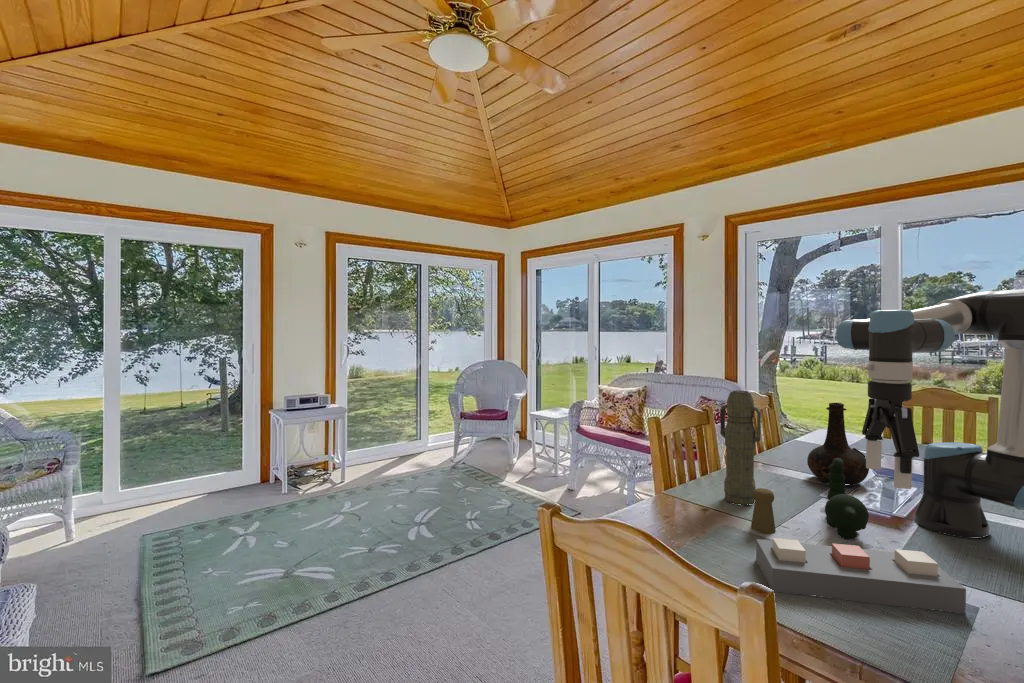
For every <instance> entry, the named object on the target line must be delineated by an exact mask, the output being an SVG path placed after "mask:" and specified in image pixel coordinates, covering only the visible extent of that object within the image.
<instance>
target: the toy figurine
mask: <svg viewBox="0 0 1024 683" xmlns="http://www.w3.org/2000/svg"><path fill="white" fill-rule="evenodd" d="M843 464H844V462H843V460H842V459H841V458H835V459H834V460H833V464H831V465H829V466H828V468H829V469H830V471H831V472H830V473H828V474H827V477H828V478H829V479H830V482H829V483H826V488H827V489H828V490H829V491H828V492H827V495H826V498H827V501H826V503H825V506H824V512H825V520H826V521H825V522H826V524H827V526H829V527H830V528H836V529H837V530H836V533H837V535H838V537H840V539H841V538H842V539H845V540H851V541H852V540H855V539H857V537H858V533H857V532H858V531H862V530H865V529H866V528H867V524H868V523H869V518H870V514H869V511H868V508H867V507H866V505H865V504H864V503H863V501H861V500H860V499H859V498H857V497H855V496H854V495H851V494H847V493H846V490H847V488H846V487H847V486H845V484H844V483H843V482H844V480H845V476H844V474H843V472H844V468H843Z"/></svg>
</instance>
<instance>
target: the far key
mask: <svg viewBox="0 0 1024 683" xmlns="http://www.w3.org/2000/svg"><path fill="white" fill-rule="evenodd" d="M772 541H773V542H772V552H773V553H774V555H775V557H776V558H777V560H781V561H791V562H800V563H806V551H805V549H804V548H803V546H802V545H801V544H800V543H801V542H800V541H799V540H798V539H790V538H789V539H788V538H786V539H785V538H776V537H772Z"/></svg>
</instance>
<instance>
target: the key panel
mask: <svg viewBox="0 0 1024 683" xmlns="http://www.w3.org/2000/svg"><path fill="white" fill-rule="evenodd" d="M772 542H773V540H772V539H771V540H769V539H759V538H756V540H755V543H756V546H755V548H756V549H755V560H756V563H757V564H758V563H759V564H758V566H759V568H760V570H761V572H762V574H763V576H764V578H765V580H766V581H767V584H768V586H769V588H770V590H771V589H772V590H774V591H773V592H774V593H775V592H776V593H784V594H791V593H793V595H799V594H804V595H803V596H808V595H816V596H823V597H822V598H825V597H831V598H830V599H833V598H838V599H837V600H842V599H845V600H844V601H850V600H853V602H859V601H860V603H867V602H868V603H870V604H878V605H887V606H894V607H902V608H910V607H914V608H913V609H918V608H924V609H923V610H927V609H934V610H933V611H935V610H942V611H941V612H944V611H950V612H949V613H952V612H957V613H956V614H961V613H962V614H961V615H966V606H967V604H966V603H967V588H966V587H965V586H963V585H962V584H961V583H960V582H958V581H957V580H956V579H955V578H953V577H952V576H951V575H950V574H948V573H947V572H946V571H945V570H944V569H942V568H941V567H940V566H938V575H937V576H927V575H917V574H908V573H905V572H904V571H903V570H902V569H901V568H900V567H899V566H898V565H897V564H896V563H895V562H894V556H895V551H888V550H887V551H886V550H877V549H876V550H875V549H868V548H867V549H866V548H861V549H862V550H863V551H864V552H865V553H866V554H867V555H868V556H869V557H870V570H869V569H859V568H849V567H840V566H839V565H838V564H837V562H836V561H835V560H834V559H833V558H832V545H821V544H814V543H813V544H810V543H801V542H800V544H801V545H802V546H803V548H804V549H805V551H806V563H800V562H791V561H781V560H777V558H776V557H775V555H774V553H773V552H772ZM772 590H771V591H772ZM794 593H795V594H794ZM816 596H815V597H816Z"/></svg>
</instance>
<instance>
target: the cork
mask: <svg viewBox="0 0 1024 683" xmlns="http://www.w3.org/2000/svg"><path fill="white" fill-rule="evenodd" d="M753 498H754V501H755V503H754V505H753V513H752V518H751V524H750V528H751V530H753V531H754V530H755V532H757V533H761V534H765V535H767V534H768V535H769V534H770V535H771V534H775V533H776V524H775V516H774V508H773V502H774V501H775V494H774V493H773V491H772V490H771V489H768V488H763V487H758V488H757V487H756V488H755V490H754V491H753Z"/></svg>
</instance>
